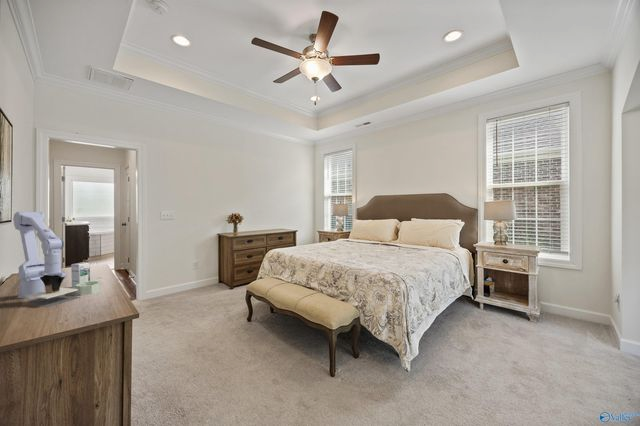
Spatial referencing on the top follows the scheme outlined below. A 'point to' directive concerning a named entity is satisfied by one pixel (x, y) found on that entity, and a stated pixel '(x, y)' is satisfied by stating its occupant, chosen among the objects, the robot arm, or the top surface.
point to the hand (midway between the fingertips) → (52, 290)
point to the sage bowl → (88, 288)
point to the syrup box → (80, 273)
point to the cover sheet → (46, 295)
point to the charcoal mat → (51, 301)
